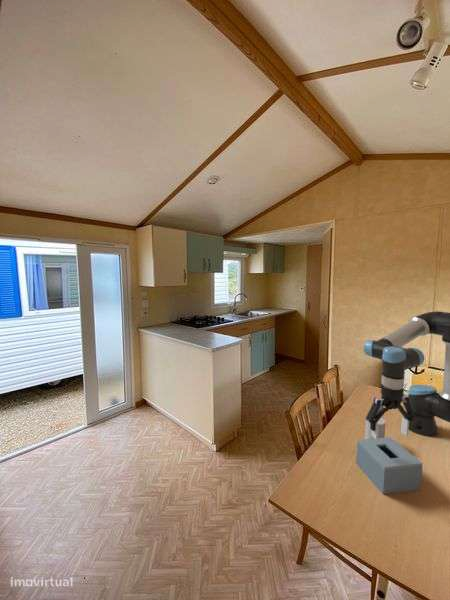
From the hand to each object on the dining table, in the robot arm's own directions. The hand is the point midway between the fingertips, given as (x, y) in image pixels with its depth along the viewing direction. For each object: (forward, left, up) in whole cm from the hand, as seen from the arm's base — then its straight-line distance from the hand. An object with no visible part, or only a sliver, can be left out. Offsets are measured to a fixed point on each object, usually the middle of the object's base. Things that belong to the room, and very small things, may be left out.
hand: (389, 435), depth 105 cm
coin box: (0, 0, -17) cm, 17 cm away
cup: (-10, -20, -18) cm, 28 cm away
